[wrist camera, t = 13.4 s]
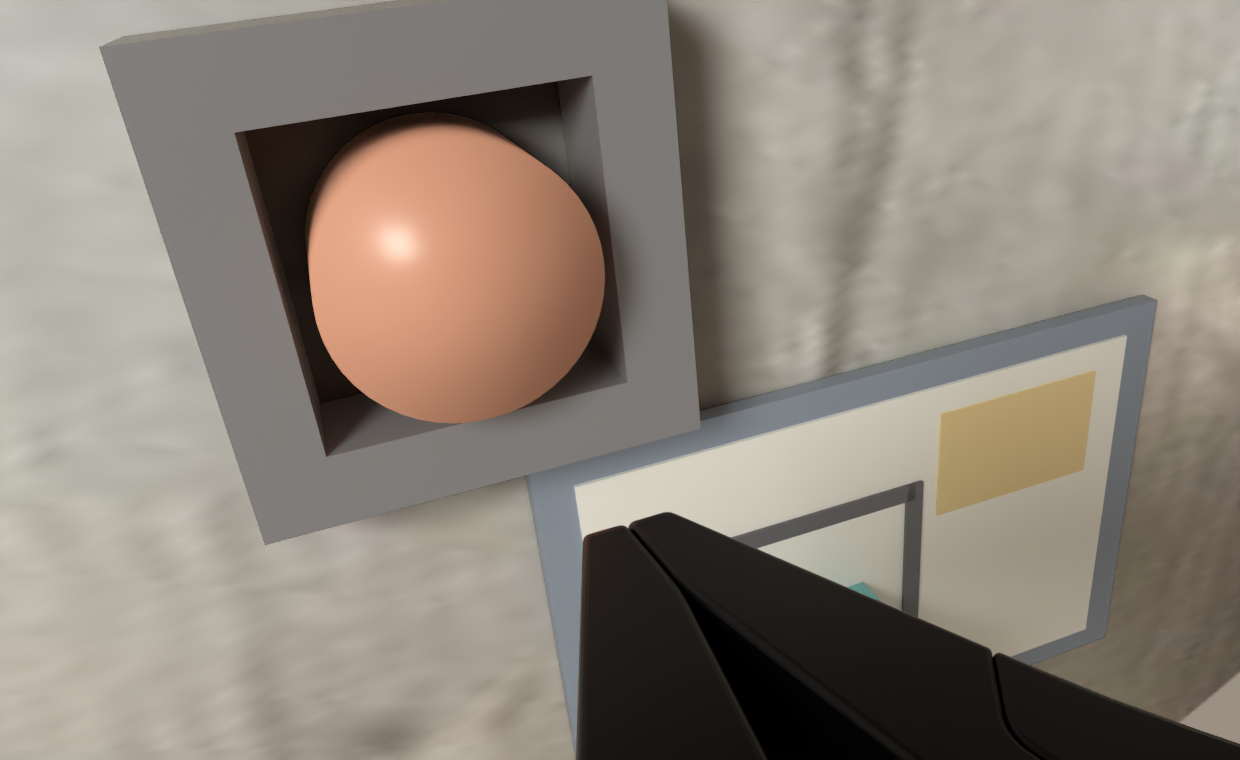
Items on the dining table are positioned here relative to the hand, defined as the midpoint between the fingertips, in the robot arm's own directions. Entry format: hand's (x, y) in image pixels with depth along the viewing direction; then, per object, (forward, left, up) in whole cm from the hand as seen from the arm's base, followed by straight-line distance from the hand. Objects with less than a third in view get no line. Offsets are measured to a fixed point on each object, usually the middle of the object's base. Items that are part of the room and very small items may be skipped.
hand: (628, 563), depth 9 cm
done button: (0, 0, -12) cm, 12 cm away
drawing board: (-10, +11, -12) cm, 19 cm away
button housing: (0, 0, -12) cm, 12 cm away
